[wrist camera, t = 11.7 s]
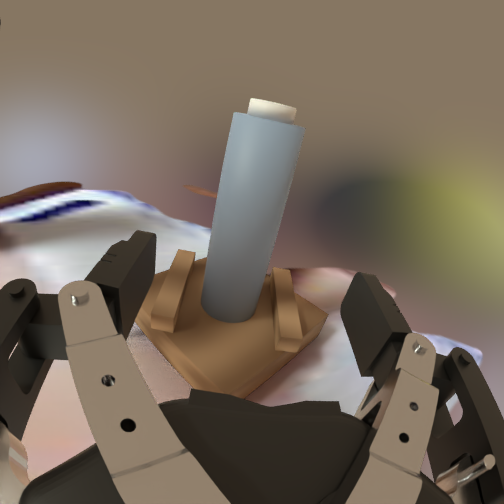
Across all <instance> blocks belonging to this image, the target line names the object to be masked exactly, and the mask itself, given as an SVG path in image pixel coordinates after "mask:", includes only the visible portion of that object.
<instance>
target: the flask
mask: <svg viewBox="0 0 504 504" xmlns="http://www.w3.org/2000/svg"><path fill="white" fill-rule="evenodd" d="M296 110H297V109H296V108H293V107H290V106H286V105H282V104H278V103H274V102H270V101H265V100H260V99H253V98H251V100H250V104H249V108H248V113H247V114H244V113H238V112H234V115H233V119H232V124H231V129H230V133H229V138H228V143H227V148H226V153H225V159H224V164H223V169H222V174H221V179H220V185H219V191H218V195H217V202H216V207H215V213H214V219H213V224H212V230H211V236H210V242H209V249H208V255H207V261H206V268H205V275H204V282H203V288H202V296H201V305H202V308H203V309H204V311H205V312H206V313H207V314H208V315H210V316H211V317H213V318H215V319H217V320H219V321H222V322H227V323H240V322H244V321H246V320H248V319H250V318H251V317H252V316H253V315H254V313H255V310H256V307H257V303H258V300H259V296H260V293H261V289H262V286H263V283H264V279H265V276H266V272H267V268H268V265H269V262H270V258H271V255H272V251H273V248H274V244H275V240H276V237H277V233H278V229H279V226H280V222H281V219H282V215H283V211H284V207H285V204H286V200H287V197H288V193H289V190H290V185H291V182H292V178H293V174H294V171H295V167H296V163H297V160H298V155H299V152H300V148H301V144H302V140H303V137H304V133H305V128H303V127H300V126H297V125H293V122H294V118H295V114H296Z"/></svg>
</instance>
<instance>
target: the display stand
mask: <svg viewBox="0 0 504 504" xmlns="http://www.w3.org/2000/svg"><path fill="white" fill-rule="evenodd" d="M195 253H196V252H190V251H185V250H180V249H178V252H177V254H176V256H175V258H174V260H173V263H172V265H171V267H170V269H169V270H167V271H164V272H161V273H158V274H155V275H154V279H153V282H152V285H151V287H150V289H149V291H148V293H147V295H146V297H145V299H144V302H143V304H142V306H141V308H140V310H139V312H138V315H137V317H136V319H135V323H136V324H137V325H138V326H139V328H140V329H141V330H142V331H143V332H144V334H145V335H146V336H147V337H148V338H149V340H150V341H151V342H152V343H153V344H154V345H155V347H156V348H157V349H158V350H159V351H160V352H161V354H162V355H163V356H164V357H165V358H166V359H167V360H168V361H169V363H170V364H171V365H172V366H173V367H174V368H175V369H176V370H177V371H178V372H179V373H180V374H181V375H182V377H183V378H184V379H185V380H186V381H187V382H188V383H189V384H190V385H191V386H192V387H193V388H194V389H198V390H204V391H210V392H216V393H223V394H230V395H233V396H236V397H239V398H242V399H244V398H245V397H246V396H248V395H249V394H250V393H252V392H253V391H254V390H255V389H257V388H258V387H259V386H260V385H262V384H263V383H264V382H265V381H267V380H268V379H269V378H270V377H271V376H273V375H274V374H275V373H276V372H277V371H279V370H280V369H281V368H282V367H283V366H284V365H286V364H287V363H288V362H289V361H290V360H291V359H293V358H294V357H295V356H296V355H297V354H298V353H299V352H300V351H302V350H303V349H304V348H305V347H306V346H307V345H308V344H309V343H310V342H312V341H313V340H314V339H315V338H316V337H317V336H318V335H319V333H320V331H321V329H322V327H323V325H324V323H325V321H326V319H327V316H328V314H327V313H325V312H324V311H322V310H321V309H319V308H318V307H316V306H315V305H313V304H312V303H310V302H309V301H307V300H306V299H304V298H302V297H301V296H299V295H298V294H296V293H295V292H294V289H293V284H292V279H291V274H290V270H286V269H281V268H275V267H273V269H272V272H271V276H269V275H267V274H266V276H265V279H264V283H263V286H262V289H261V293H260V296H259V300H258V303H257V307H256V310H255V313H254V315H253V316H252V317H251V318H250V319H248V320H246V321H244V322H240V323H227V322H222V321H219V320H217V319H215V318H213V317H211V316H210V315H208V314H207V313H206V312H205V311H204V309H203V308H202V305H201V296H202V288H203V282H204V275H205V268H206V261H207V257H206V258H203V259H200V260H197V261H194V260H195Z"/></svg>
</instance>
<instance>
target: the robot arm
mask: <svg viewBox="0 0 504 504" xmlns="http://www.w3.org/2000/svg"><path fill="white" fill-rule="evenodd" d="M0 24H1V22H0ZM155 258H156V234H155V233H150V232H145V231H139V230H137V231H136V232H135V233H134V234H133V235H132V236H131V238H130V239H129V240H128V241H124V240H121V241H120V242H118V243H116V244H114V245H112V246H111V247H110V248H109V250H108V251H107V252H106V254H104V256H103V257H102V258H101V260H100V261H99V262H98V263H97V264H96V265H95V267H94V268H93V269H92V271H91V272H90V273H89V274H88V276H87V277H86V278H85V279H84V281H74V282H71V283H69V284H67V285H65V286H64V287H63V288H62V289H61V290H60V292H59V294H38V292H37V289H36V285H35V284H34V282H32V281H31V280H29V279H15V280H12V281H10V282H9V283H7V284H6V285H4V286H3V288H2V289H1V290H0V504H504V419H503V417H502V415H501V412H500V410H499V408H498V406H497V403H496V401H495V399H494V397H493V395H492V393H491V391H490V389H489V387H488V385H487V383H486V381H485V379H484V377H483V375H482V373H481V371H480V369H479V367H478V365H477V364H476V362H475V360H474V358H473V357H472V356H471V354H470V353H468V352H467V351H466V350H464V349H462V348H459V347H456V348H453V349H452V351H451V352H450V353H449V355H448V356H444V355H441V354H437V353H436V350H435V347H434V346H433V344H432V343H431V342H430V341H429V340H428V339H427V338H426V337H424V336H422V335H420V334H417V333H412V331H411V329H410V327H409V325H408V324H407V322H406V320H405V318H404V317H403V315H402V313H400V310H399V308H398V306H396V303H395V301H394V300H393V298H392V296H391V295H390V294H389V293H388V292H387V291H386V290H384V289H383V287H382V285H381V284H380V282H379V280H378V279H377V277H376V276H375V275H371V274H366V273H361V272H358V273H356V274H355V276H354V278H353V280H352V282H351V284H350V287H349V289H348V291H347V293H346V295H345V297H344V299H343V302H342V304H341V311H340V313H341V318H342V321H343V323H344V326H345V329H346V332H347V335H348V338H349V341H350V344H351V347H352V349H353V352H354V355H355V359H356V362H357V365H358V368H359V371H360V374H361V377H374V380H373V382H372V383H371V384H370V386H369V388H368V390H367V392H366V394H365V396H364V398H363V400H362V402H361V404H360V406H359V408H358V410H357V412H356V414H355V415H354V416H352V415H350V414H346V413H344V412H341V409H340V405H339V401H303V402H298V403H292V404H287V405H281V406H275V407H267V406H264V405H260V404H257V403H254V402H251V401H248V400H245V399H242V398H239V397H236V396H233V395H230V394H223V393H216V392H210V391H204V390H198V389H192V388H191V391H190V397H189V399H178V400H171V401H167V402H163V403H160V404H157V403H156V401H155V399H154V397H153V395H152V393H151V392H150V390H149V388H148V386H147V384H146V382H145V380H144V378H143V376H142V374H141V372H140V370H139V368H138V366H137V364H136V362H135V360H134V358H133V356H132V354H131V352H130V350H129V347H128V345H127V343H126V340H127V337H128V335H129V333H130V330H131V328H132V326H133V324H134V321H135V319H136V317H137V315H138V312H139V310H140V308H141V306H142V304H143V302H144V299H145V297H146V295H147V293H148V291H149V289H150V287H151V285H152V282H153V279H154V274H155ZM17 342H18V345H17V346H16V348H15V350H14V352H13V353H12V355H11V357H10V359H9V356H10V354H11V352H12V350H13V349H14V347H15V345H16V344H17ZM54 359H56V360H69V364H70V368H71V372H72V375H73V379H74V382H75V386H76V389H77V392H78V395H79V398H80V401H81V404H82V407H83V410H84V413H85V416H86V418H87V421H88V424H89V426H90V429H91V431H92V434H93V436H94V439H95V441H96V443H95V444H94V445H92V446H90V447H89V448H87V449H86V450H84V451H82V452H81V453H79V454H77V455H76V456H74V457H72V458H71V459H69V460H67V461H66V462H64V463H62V464H60V465H59V466H57V467H55V468H53V469H52V470H50V471H48V472H46V473H44V474H43V475H41V476H39V477H37V478H35V479H34V480H33V481H31V482H30V480H29V478H28V474H27V469H28V465H27V464H28V457H27V452H26V449H25V447H24V446H23V444H22V443H21V440H22V437H23V434H24V431H25V428H26V425H27V422H28V420H29V417H30V414H31V412H32V409H33V406H34V404H35V401H36V399H37V396H38V394H39V392H40V389H41V387H42V385H43V382H44V380H45V378H46V375H47V373H48V371H49V369H50V367H51V365H52V362H53V360H54ZM455 393H456V394H457V396H458V399H459V401H460V403H461V406H462V408H463V415H462V418H461V420H460V421H459V422H458V423H457V424H456V425H455V426H454V425H453V422H452V419H451V417H450V414H449V411H448V409H447V406H446V402H447V401H448V400H449V399H450V398H451V397H452V396H453V395H454V394H455ZM426 449H427V453H428V457H429V461H430V465H431V469H432V473H433V478H434V482H435V483H433V481H431V480H430V479H429V478H428V477H427V476H426V475H424V474H423V473H422V472H421V471H420V469H421V466H422V462H423V459H424V456H425V452H426Z"/></svg>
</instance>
